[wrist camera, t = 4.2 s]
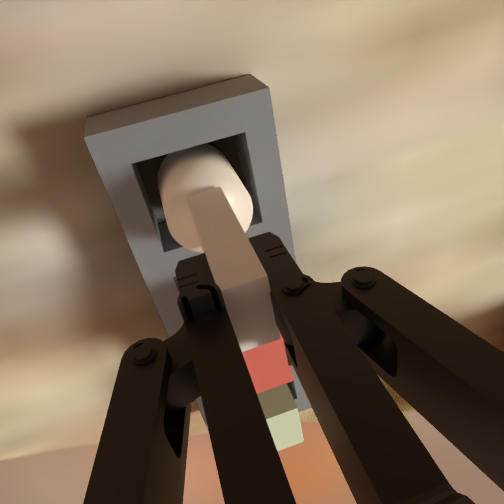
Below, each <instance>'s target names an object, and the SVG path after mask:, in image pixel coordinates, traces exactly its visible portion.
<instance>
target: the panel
mask: <svg viewBox="0 0 504 504" xmlns="http://www.w3.org/2000/svg"><path fill="white" fill-rule="evenodd" d="M233 135H234V136H235V141H236V145H237V150H238V155H239V160H240V164H241V169H242V174H243V178H244V183H245V188H246V190H247V191H248V193H249V195H250V197H251V200H252V204H253V215H252V220H251V223H250V225H249V228H248V229H247V231H246V232H245V234H246V236H247V238H251V237H254V236H257V235H260V234H263V233H266V232H271V233H273V234H275V235H276V236H278V237H279V238H280V239H281V241H282V242H283V244H284V246H285V247H286V249H287V250H288V252H289V253H290V255H291V256H292V258H293V259H294V261H295V262H296V260H295V253H294V247H293V240H292V234H291V227H290V221H289V214H288V207H287V201H286V194H285V188H284V181H283V175H282V168H281V162H280V155H279V148H278V142H277V135H276V129H275V122H274V116H273V109H272V102H271V96H270V89H269V87H268V86H266V85H265V84H264V83H262V82H261V81H259V80H258V79H257V78H255V77H254V76H252V75H251V74H249V75H246V76H242V77H238V78H234V79H230V80H227V81H223V82H219V83H215V84H211V85H208V86H204V87H200V88H196V89H192V90H189V91H185V92H181V93H177V94H173V95H170V96H166V97H162V98H158V99H155V100H151V101H147V102H143V103H139V104H136V105H132V106H128V107H124V108H120V109H117V110H113V111H109V112H105V113H101V114H98V115H94V116H90V117H87V118H86V124H85V131H84V137H83V138H84V140H85V142H86V145H87V147H88V149H89V152H90V154H91V156H92V159H93V161H94V163H95V166H96V168H97V170H98V173H99V175H100V177H101V180H102V182H103V184H104V187H105V189H106V192H107V194H108V196H109V199H110V201H111V203H112V206H113V208H114V210H115V213H116V215H117V217H118V220H119V222H120V224H121V227H122V229H123V231H124V234H125V236H126V238H127V241H128V243H129V246H130V248H131V250H132V253H133V255H134V257H135V260H136V262H137V264H138V267H139V269H140V271H141V274H142V276H143V278H144V281H145V283H146V285H147V288H148V290H149V292H150V295H151V297H152V300H153V302H154V304H155V307H156V309H157V311H158V314H159V316H160V318H161V321H162V323H163V325H164V328H165V330H166V332H167V335H168V337H169V338H170V337H171V336H173V335H174V334H175V333H176V332H177V331H178V330H179V329H180V328H181V327H182V325H183V323H184V320H183V318H182V315H181V313H180V310H179V307H178V305H177V299H178V296H179V295H180V291H179V287H178V282H177V278H176V273H175V269H176V266H177V264H178V261H180V260H183V259H187V258H190V257H193V256H196V255H199V254H203V253H202V252H196V251H192V250H189V249H187V248H185V247H183V246H182V245H180V244H179V243H178V242H177V241H176V240H175V239H174V238H173V237H172V235H171V233H170V231H169V229H168V226H167V222H164V223H160V224H158V222H157V219H156V217H155V214H154V211H153V208H152V206H151V203H150V200H149V197H148V195H147V192H146V189H145V187H144V184H143V181H142V178H141V176H140V173H139V170H138V167H137V165H136V163H137V162H140V161H144V160H147V159H151V158H154V157H158V156H162V155H165V154H169V153H172V152H176V151H179V150H183V149H187V148H190V147H194V146H197V145H201V144H204V143H208V142H212V141H215V140H219V139H222V138H226V137H229V136H233ZM291 369H292V372H293V376H294V381H291V382H289V383H287V385H288V387H289V390H290V392H291V394H292V397H293V399H294V401H295V404H296V406H297V408H298V412H300V411H303V410H306V409H308V408H311V407H312V406H311V404H310V402H309V400H308V398H307V396H306V393H305V391H304V389H303V387H302V385H301V383H300V381H299V378H298V376H297V374H296V372H295V370H294V368H293V366H292V365H291ZM196 403H197V405H198V408H199V410H200V412H201V415H202V417H203V419H204V422H205V424H206V426H207V421H206V417H205V412H204V408H203V403H202V399H201V396H200V397H198V398H197V399H196ZM207 429H208V426H207ZM208 431H209V430H208Z"/></svg>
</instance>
